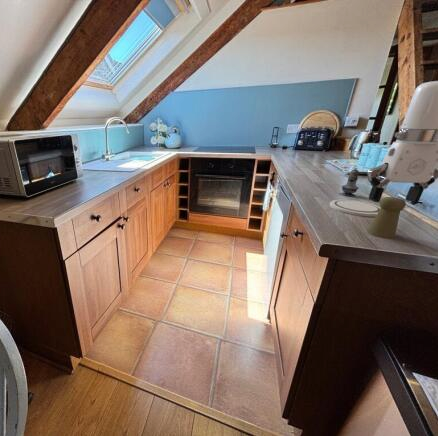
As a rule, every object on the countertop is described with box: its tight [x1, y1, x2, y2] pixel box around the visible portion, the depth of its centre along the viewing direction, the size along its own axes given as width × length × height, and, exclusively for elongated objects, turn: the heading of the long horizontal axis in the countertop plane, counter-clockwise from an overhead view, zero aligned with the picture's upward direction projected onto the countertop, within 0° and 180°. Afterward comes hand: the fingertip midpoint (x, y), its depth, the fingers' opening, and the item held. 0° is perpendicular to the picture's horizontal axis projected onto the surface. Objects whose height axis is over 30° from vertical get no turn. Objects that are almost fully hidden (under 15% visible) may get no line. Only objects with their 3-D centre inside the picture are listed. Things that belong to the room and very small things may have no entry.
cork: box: [367, 196, 407, 239], centre depth 70 cm, size 6×6×11 cm
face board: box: [329, 199, 381, 218], centre depth 91 cm, size 16×16×1 cm
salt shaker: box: [340, 167, 360, 198], centre depth 104 cm, size 6×6×12 cm
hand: (392, 201), depth 68 cm, fingers open, 9 cm apart
